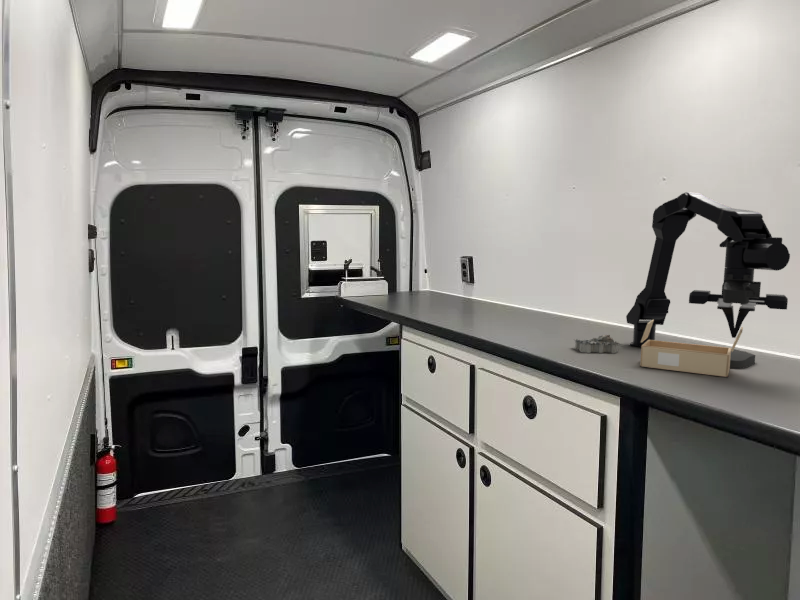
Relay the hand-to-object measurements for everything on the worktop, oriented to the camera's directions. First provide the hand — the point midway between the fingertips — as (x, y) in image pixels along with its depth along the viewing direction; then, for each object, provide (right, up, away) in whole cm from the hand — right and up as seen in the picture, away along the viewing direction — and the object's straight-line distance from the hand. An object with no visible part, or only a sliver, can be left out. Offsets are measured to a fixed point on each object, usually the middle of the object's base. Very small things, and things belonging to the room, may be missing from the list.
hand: (733, 337), depth 129 cm
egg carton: (-22, -6, +26) cm, 34 cm away
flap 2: (0, -3, 0) cm, 3 cm away
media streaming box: (+4, -7, +15) cm, 17 cm away
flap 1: (-16, -2, +10) cm, 19 cm away
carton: (-8, -8, +6) cm, 13 cm away
